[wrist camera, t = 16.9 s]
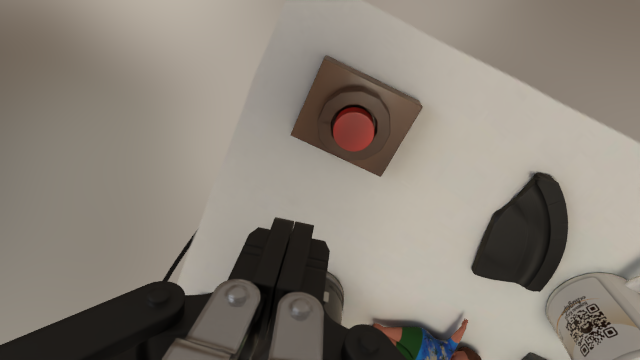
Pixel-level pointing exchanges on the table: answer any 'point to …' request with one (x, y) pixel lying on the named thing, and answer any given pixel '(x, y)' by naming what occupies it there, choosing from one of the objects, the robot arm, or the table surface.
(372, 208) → the table surface
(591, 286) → the mug
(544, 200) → the fan shaped piece
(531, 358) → the dial panel
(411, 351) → the toy character
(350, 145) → the button
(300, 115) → the button block
